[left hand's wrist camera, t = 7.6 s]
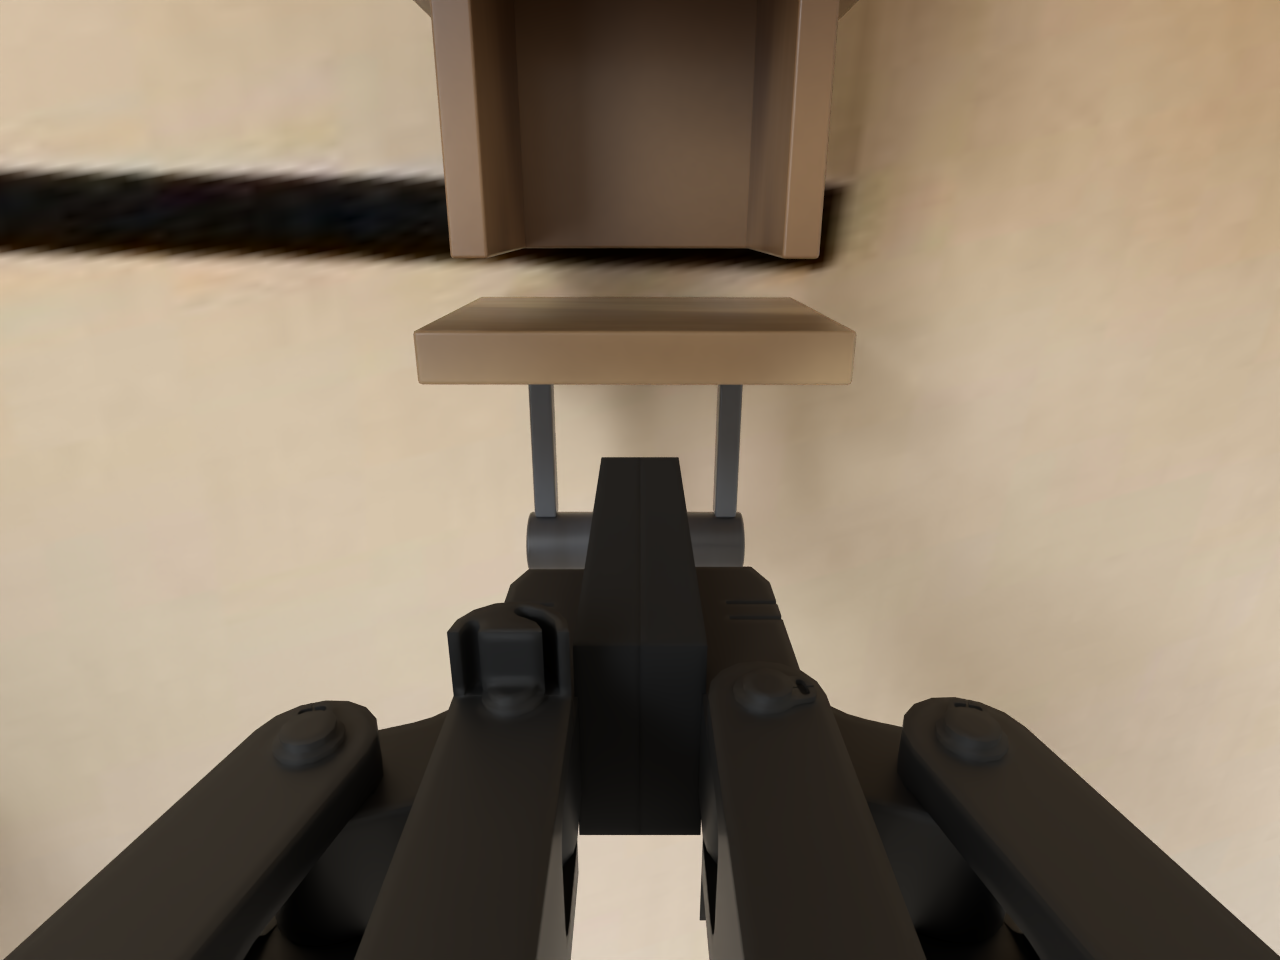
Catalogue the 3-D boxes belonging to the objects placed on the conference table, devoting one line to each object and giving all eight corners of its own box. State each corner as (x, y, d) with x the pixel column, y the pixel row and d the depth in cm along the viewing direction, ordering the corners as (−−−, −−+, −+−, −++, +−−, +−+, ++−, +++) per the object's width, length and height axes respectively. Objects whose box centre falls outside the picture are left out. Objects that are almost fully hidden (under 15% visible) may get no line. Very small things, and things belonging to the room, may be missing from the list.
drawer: (777, 514, 25) (828, 623, 18) (494, 514, 25) (441, 623, 18) (833, -299, 18) (953, -613, 11) (437, -300, 18) (314, -615, 11)
